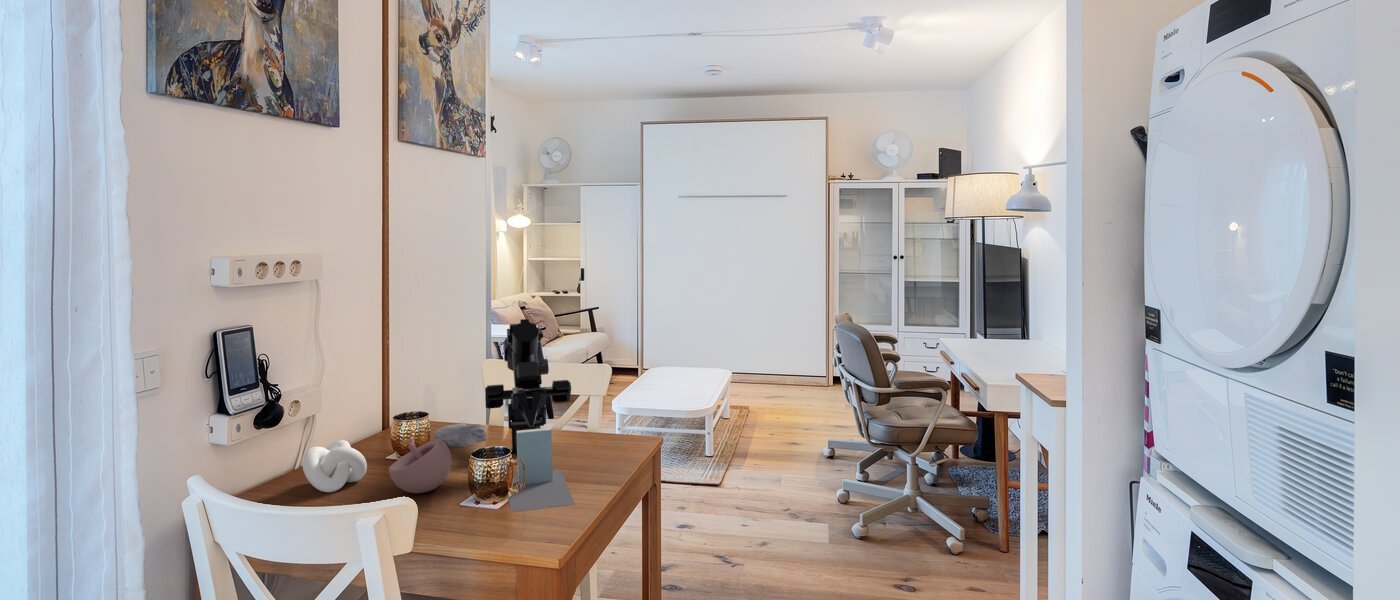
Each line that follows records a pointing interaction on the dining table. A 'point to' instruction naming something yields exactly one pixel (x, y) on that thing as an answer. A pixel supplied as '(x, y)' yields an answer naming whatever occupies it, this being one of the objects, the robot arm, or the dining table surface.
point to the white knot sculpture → (333, 466)
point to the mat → (541, 494)
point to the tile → (535, 455)
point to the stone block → (461, 434)
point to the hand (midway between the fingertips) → (531, 426)
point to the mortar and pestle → (422, 467)
